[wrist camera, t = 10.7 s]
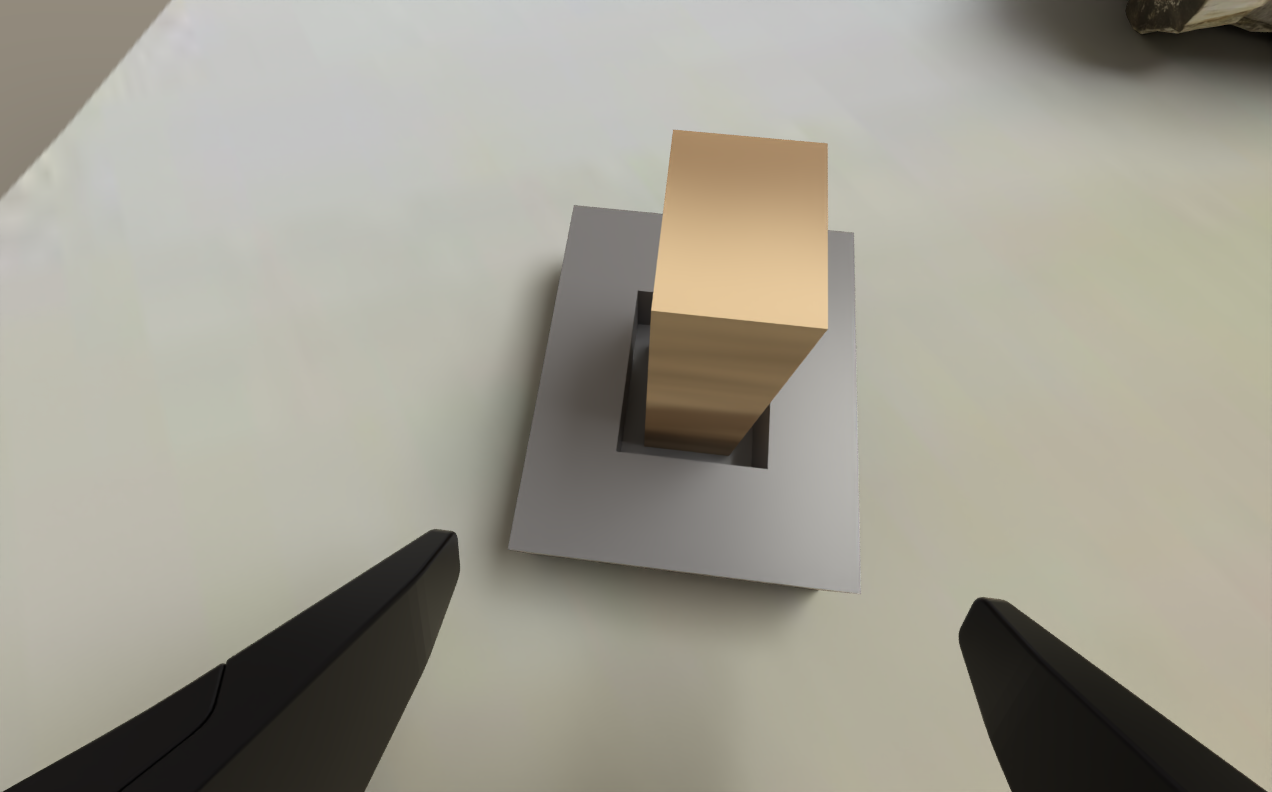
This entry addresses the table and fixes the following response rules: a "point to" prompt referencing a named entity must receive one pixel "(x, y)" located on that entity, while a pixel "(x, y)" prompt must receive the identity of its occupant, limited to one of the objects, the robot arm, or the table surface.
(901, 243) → the table surface
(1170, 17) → the hollow geode rock
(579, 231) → the end cap
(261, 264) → the table surface
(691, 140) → the tan wooden block
